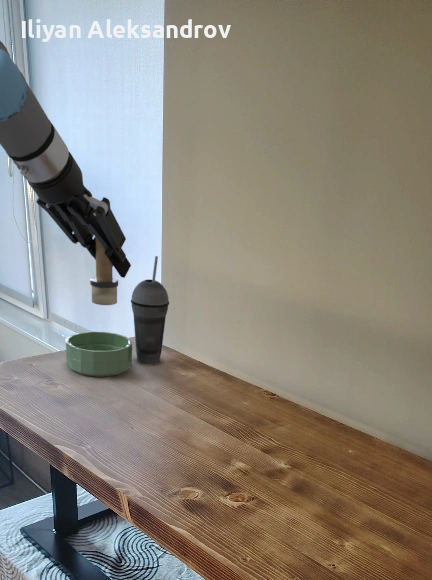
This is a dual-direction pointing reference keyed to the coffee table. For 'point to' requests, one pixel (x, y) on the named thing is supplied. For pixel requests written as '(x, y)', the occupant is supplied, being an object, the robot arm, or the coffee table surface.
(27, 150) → the robot arm
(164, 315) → the beverage cup
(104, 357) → the bowl
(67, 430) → the coffee table surface
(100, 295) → the dowel on round base
